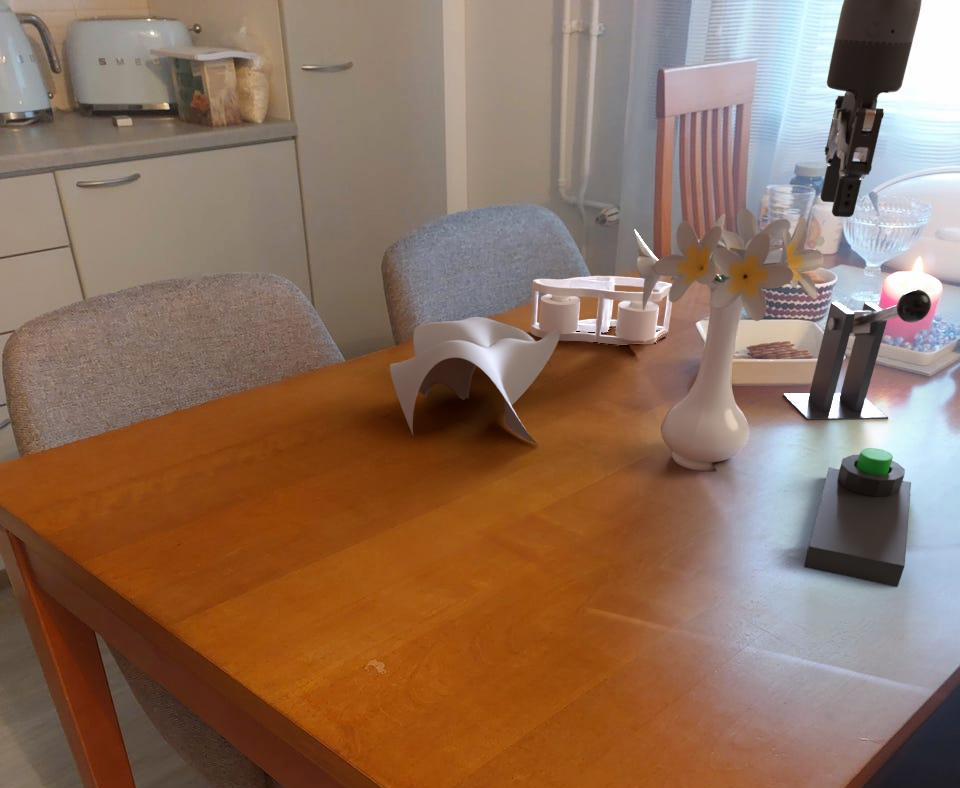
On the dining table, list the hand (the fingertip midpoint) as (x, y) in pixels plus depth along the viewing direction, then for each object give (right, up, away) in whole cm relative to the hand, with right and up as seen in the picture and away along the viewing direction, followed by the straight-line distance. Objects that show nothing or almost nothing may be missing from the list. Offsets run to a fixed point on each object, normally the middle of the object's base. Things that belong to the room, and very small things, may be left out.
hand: (835, 208), depth 103 cm
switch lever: (+4, -15, -3) cm, 15 cm away
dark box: (-4, -38, -15) cm, 41 cm away
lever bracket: (+3, -21, +9) cm, 23 cm away
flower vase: (-16, -29, -3) cm, 33 cm away
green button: (-1, -32, -12) cm, 34 cm away
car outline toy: (-23, -4, +32) cm, 39 cm away
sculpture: (-40, -19, +11) cm, 46 cm away
